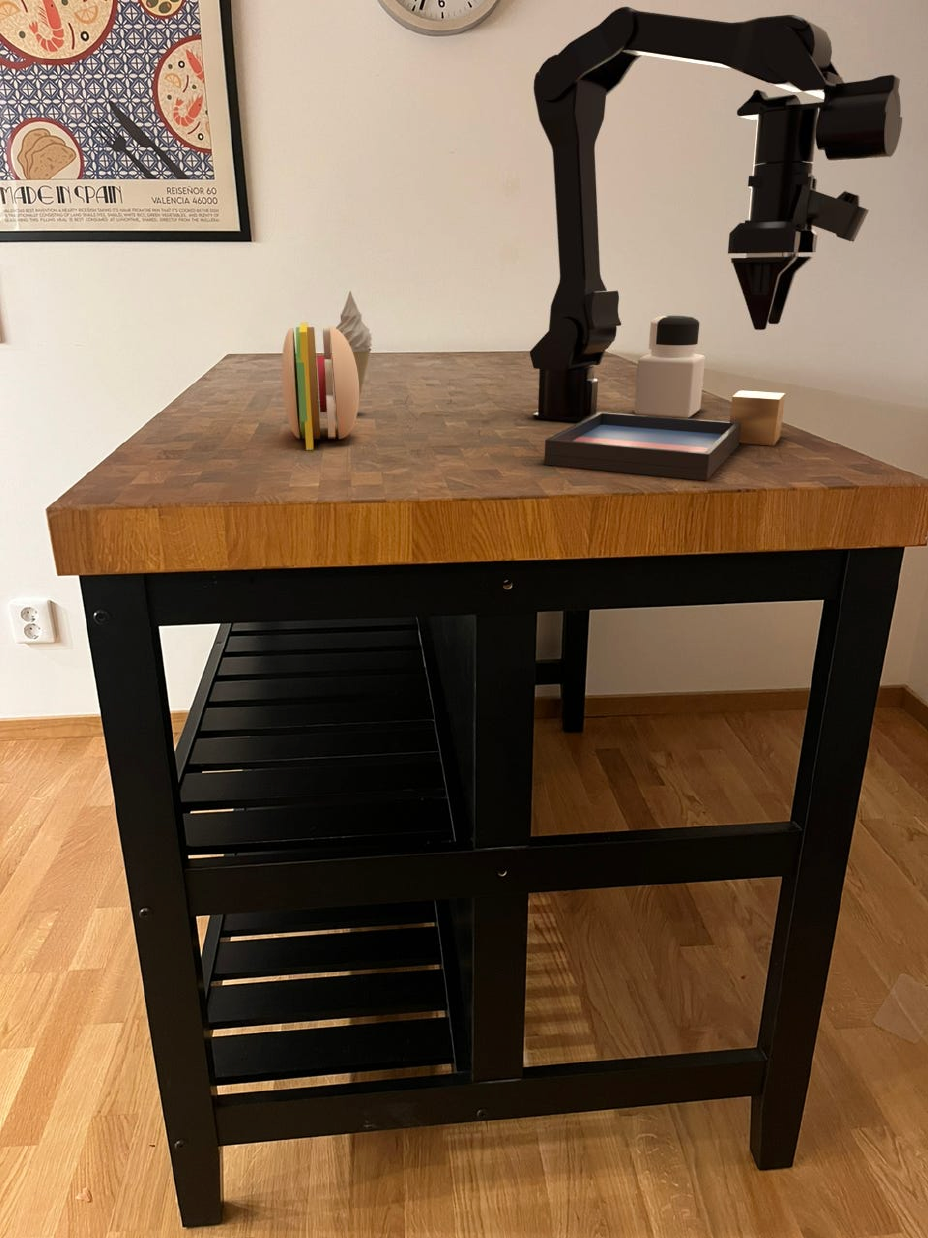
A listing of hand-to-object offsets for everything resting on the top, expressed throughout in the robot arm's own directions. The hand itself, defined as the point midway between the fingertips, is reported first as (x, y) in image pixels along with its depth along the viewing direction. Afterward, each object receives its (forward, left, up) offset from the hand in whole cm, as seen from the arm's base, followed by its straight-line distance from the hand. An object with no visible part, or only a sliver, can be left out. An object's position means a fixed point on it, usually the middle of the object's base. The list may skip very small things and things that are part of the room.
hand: (767, 326), depth 99 cm
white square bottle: (-13, +15, -12) cm, 23 cm away
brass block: (0, +1, -12) cm, 12 cm away
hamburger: (-44, -19, -12) cm, 50 cm away
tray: (-9, -12, -12) cm, 20 cm away
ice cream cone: (-49, -4, -12) cm, 51 cm away
